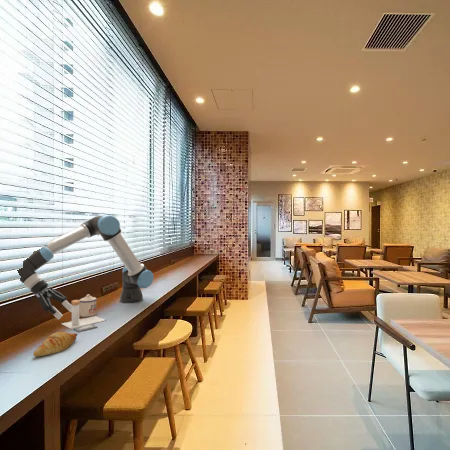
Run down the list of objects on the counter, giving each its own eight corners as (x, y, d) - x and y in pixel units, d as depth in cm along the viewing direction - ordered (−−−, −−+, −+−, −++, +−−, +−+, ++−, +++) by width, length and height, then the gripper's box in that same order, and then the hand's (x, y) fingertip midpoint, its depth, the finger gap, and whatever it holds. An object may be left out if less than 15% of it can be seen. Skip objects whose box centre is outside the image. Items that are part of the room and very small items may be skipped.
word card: (91, 325, 160) (91, 323, 160) (97, 327, 156) (97, 326, 156) (73, 329, 153) (73, 328, 153) (78, 332, 149) (78, 330, 149)
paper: (95, 316, 175) (95, 316, 175) (105, 320, 167) (105, 320, 167) (61, 324, 162) (61, 323, 162) (70, 328, 154) (70, 328, 154)
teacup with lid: (91, 317, 173) (91, 296, 174) (75, 317, 175) (75, 296, 175) (102, 311, 185) (102, 292, 186) (87, 311, 186) (87, 291, 187)
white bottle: (77, 323, 162) (77, 299, 162) (80, 324, 160) (80, 300, 160) (70, 324, 159) (70, 300, 160) (73, 326, 157) (73, 301, 157)
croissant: (40, 369, 118) (47, 351, 117) (21, 354, 120) (28, 336, 119) (80, 347, 138) (87, 332, 137) (64, 334, 141) (70, 319, 139)
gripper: (43, 285, 170) (71, 312, 171) (16, 295, 146) (49, 326, 146) (53, 275, 171) (81, 302, 172) (28, 283, 146) (61, 315, 147)
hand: (66, 313), depth 159 cm, fingers open, 13 cm apart
